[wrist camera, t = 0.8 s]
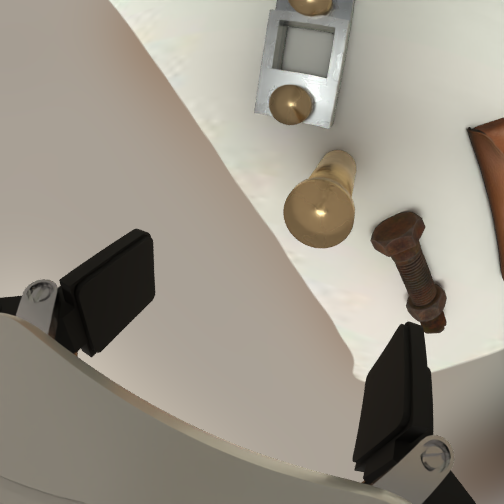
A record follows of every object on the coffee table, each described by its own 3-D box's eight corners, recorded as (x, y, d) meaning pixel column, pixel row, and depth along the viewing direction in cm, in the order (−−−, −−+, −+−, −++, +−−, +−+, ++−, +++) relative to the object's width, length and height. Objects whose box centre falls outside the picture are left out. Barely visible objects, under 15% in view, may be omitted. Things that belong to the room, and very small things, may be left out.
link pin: (321, 141, 28) (290, 172, 17) (364, 153, 27) (362, 194, 16) (313, 181, 30) (277, 236, 20) (353, 193, 29) (342, 256, 19)
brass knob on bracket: (283, -12, 20) (270, -27, 17) (354, -2, 19) (352, -18, 15) (264, 113, 28) (247, 117, 25) (331, 128, 27) (326, 134, 23)
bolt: (427, 309, 34) (385, 213, 30) (459, 310, 30) (424, 206, 26) (409, 343, 32) (362, 246, 28) (444, 348, 27) (405, 242, 23)
